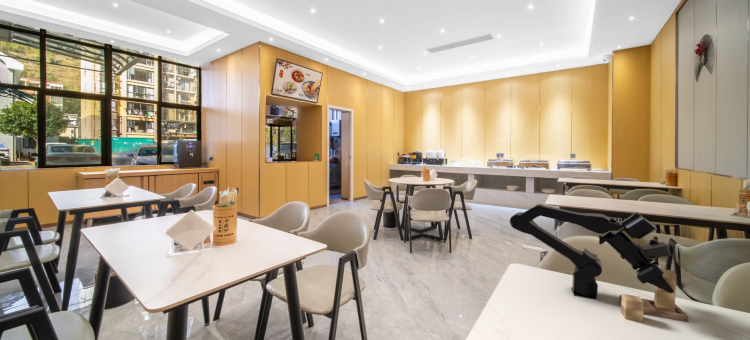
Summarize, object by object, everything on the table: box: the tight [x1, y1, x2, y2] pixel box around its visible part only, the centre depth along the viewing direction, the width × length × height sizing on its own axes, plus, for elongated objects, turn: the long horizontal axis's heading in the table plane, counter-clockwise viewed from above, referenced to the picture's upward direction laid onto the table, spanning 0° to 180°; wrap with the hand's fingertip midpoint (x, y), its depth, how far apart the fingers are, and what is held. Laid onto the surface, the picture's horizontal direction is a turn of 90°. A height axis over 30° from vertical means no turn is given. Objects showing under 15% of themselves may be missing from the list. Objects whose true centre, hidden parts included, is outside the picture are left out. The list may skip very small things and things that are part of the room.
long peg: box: [653, 268, 677, 313], centre depth 91 cm, size 4×4×12 cm
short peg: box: [620, 293, 644, 323], centre depth 89 cm, size 4×4×6 cm
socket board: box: [619, 294, 689, 322], centre depth 93 cm, size 14×8×2 cm, turn 64°
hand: (671, 289), depth 90 cm, fingers closed on long peg, 4 cm apart
